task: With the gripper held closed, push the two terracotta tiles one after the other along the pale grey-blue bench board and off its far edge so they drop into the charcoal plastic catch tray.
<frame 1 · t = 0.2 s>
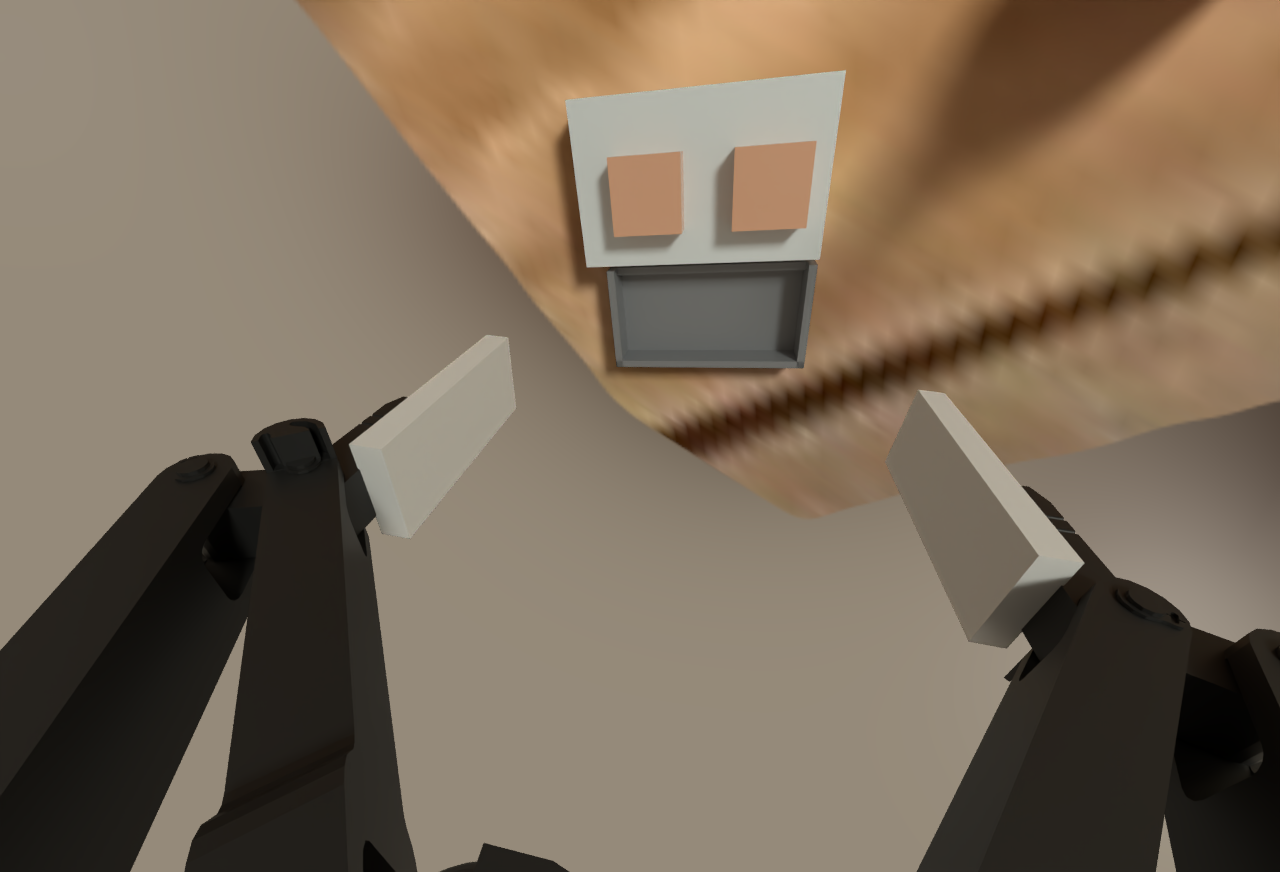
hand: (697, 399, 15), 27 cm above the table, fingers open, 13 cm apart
bench board: (700, 179, 35), on the table
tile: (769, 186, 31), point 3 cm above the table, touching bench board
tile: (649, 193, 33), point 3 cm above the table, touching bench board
catch tray: (708, 309, 40), on the table
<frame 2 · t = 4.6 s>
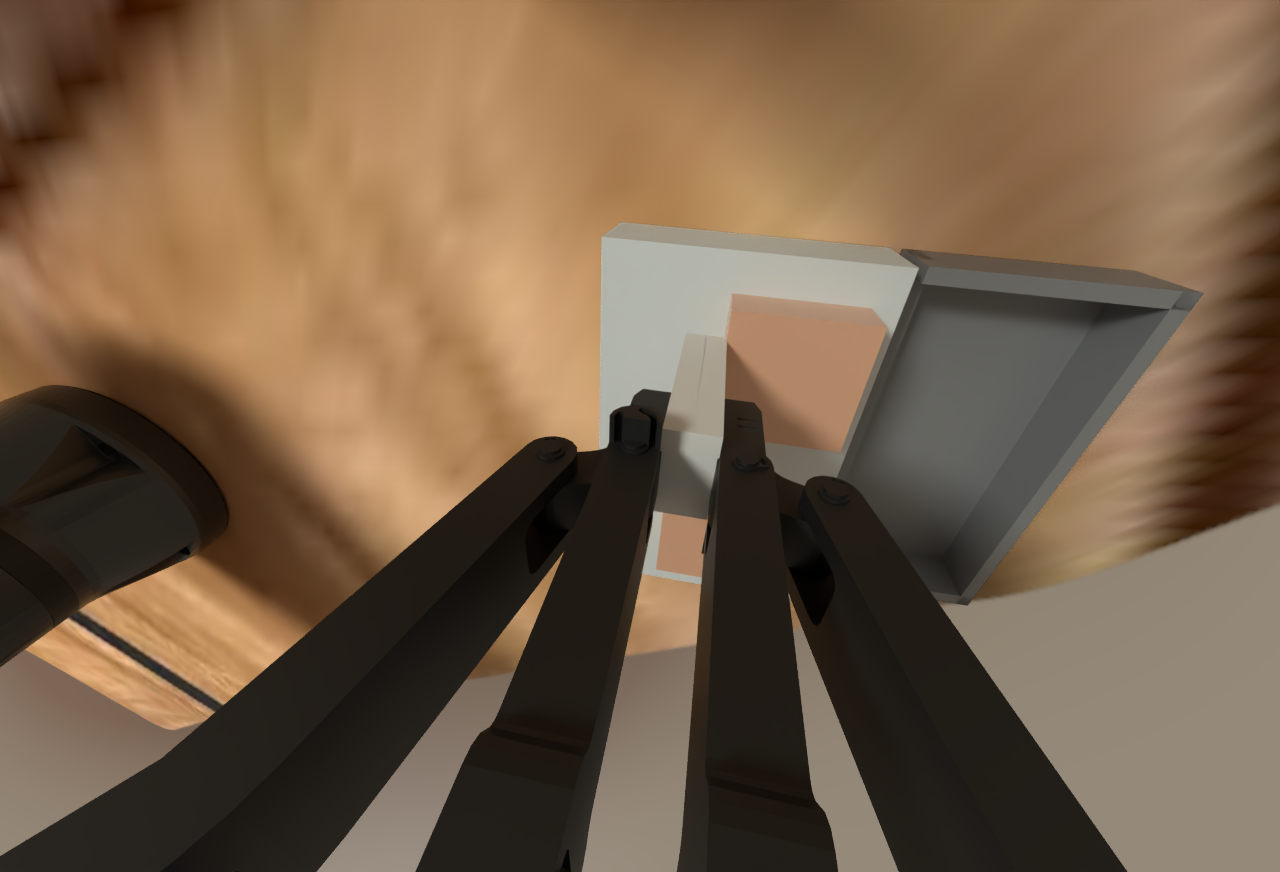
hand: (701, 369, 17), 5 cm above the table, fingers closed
bench board: (717, 418, 24), on the table
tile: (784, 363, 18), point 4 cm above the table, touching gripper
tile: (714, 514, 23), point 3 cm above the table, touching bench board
catch tray: (927, 434, 22), on the table
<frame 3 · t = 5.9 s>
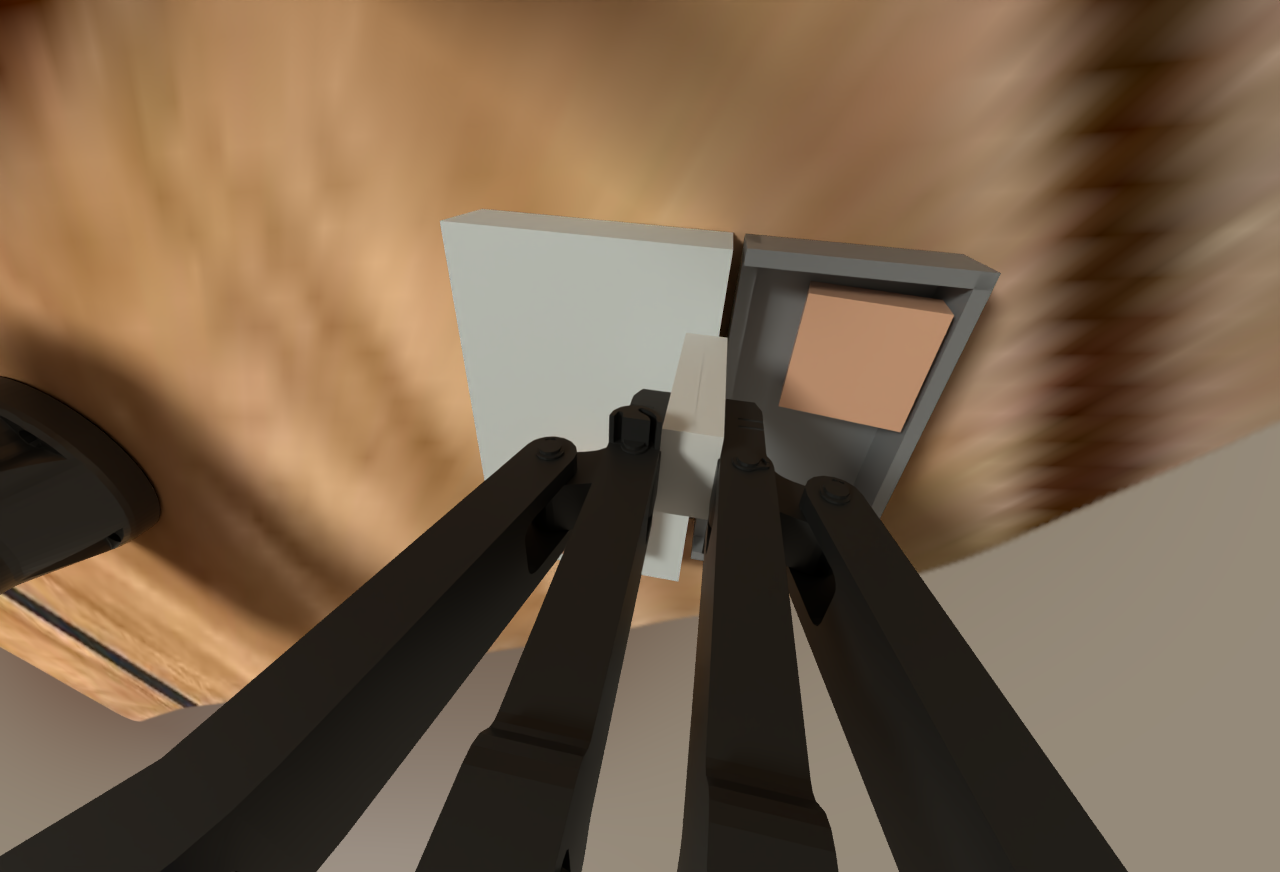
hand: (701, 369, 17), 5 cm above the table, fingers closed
bench board: (601, 402, 24), on the table
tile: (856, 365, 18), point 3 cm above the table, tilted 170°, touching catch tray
catch tray: (799, 417, 23), on the table
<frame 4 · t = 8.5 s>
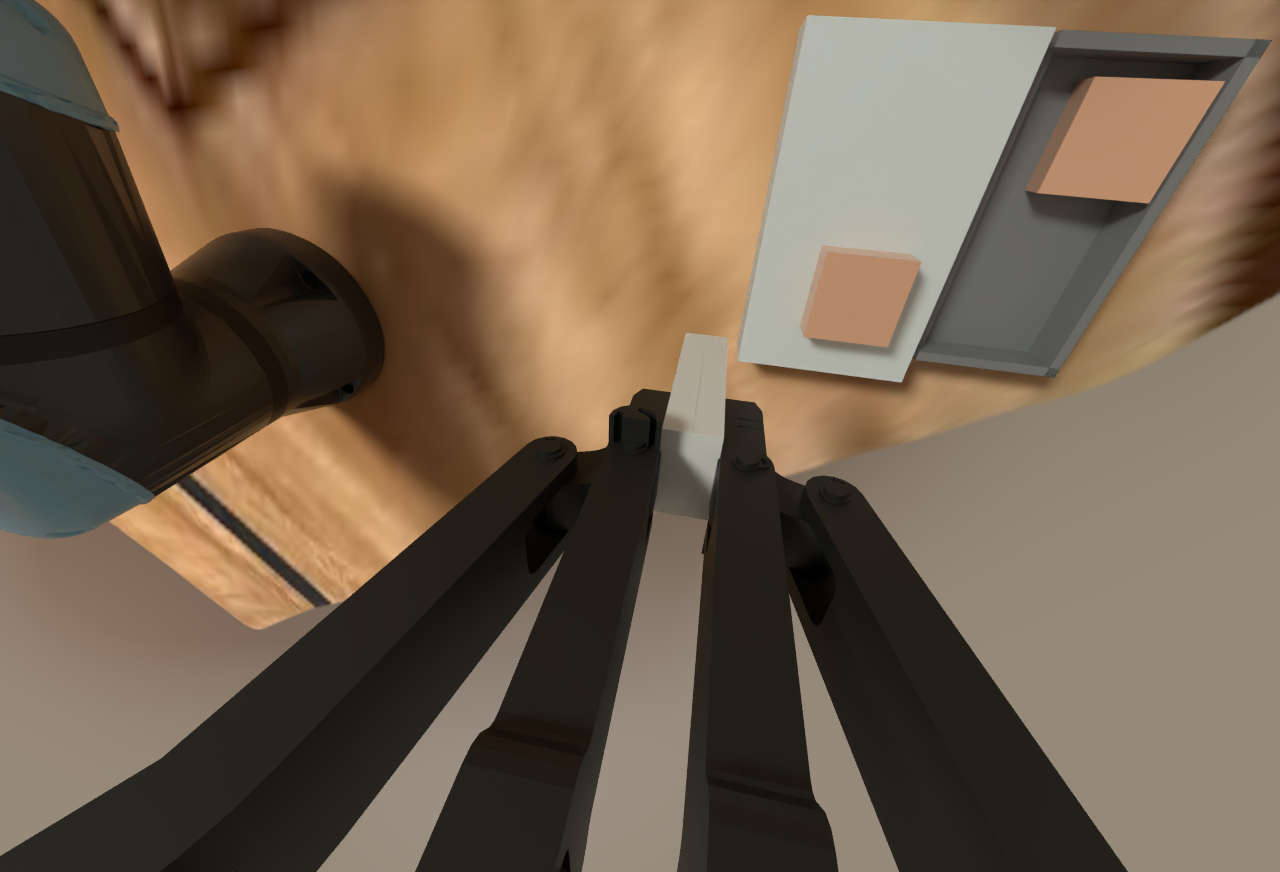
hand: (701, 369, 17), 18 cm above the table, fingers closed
bench board: (849, 221, 29), on the table
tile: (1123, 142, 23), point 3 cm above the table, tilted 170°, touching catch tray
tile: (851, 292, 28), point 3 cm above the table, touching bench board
catch tray: (1028, 224, 27), on the table
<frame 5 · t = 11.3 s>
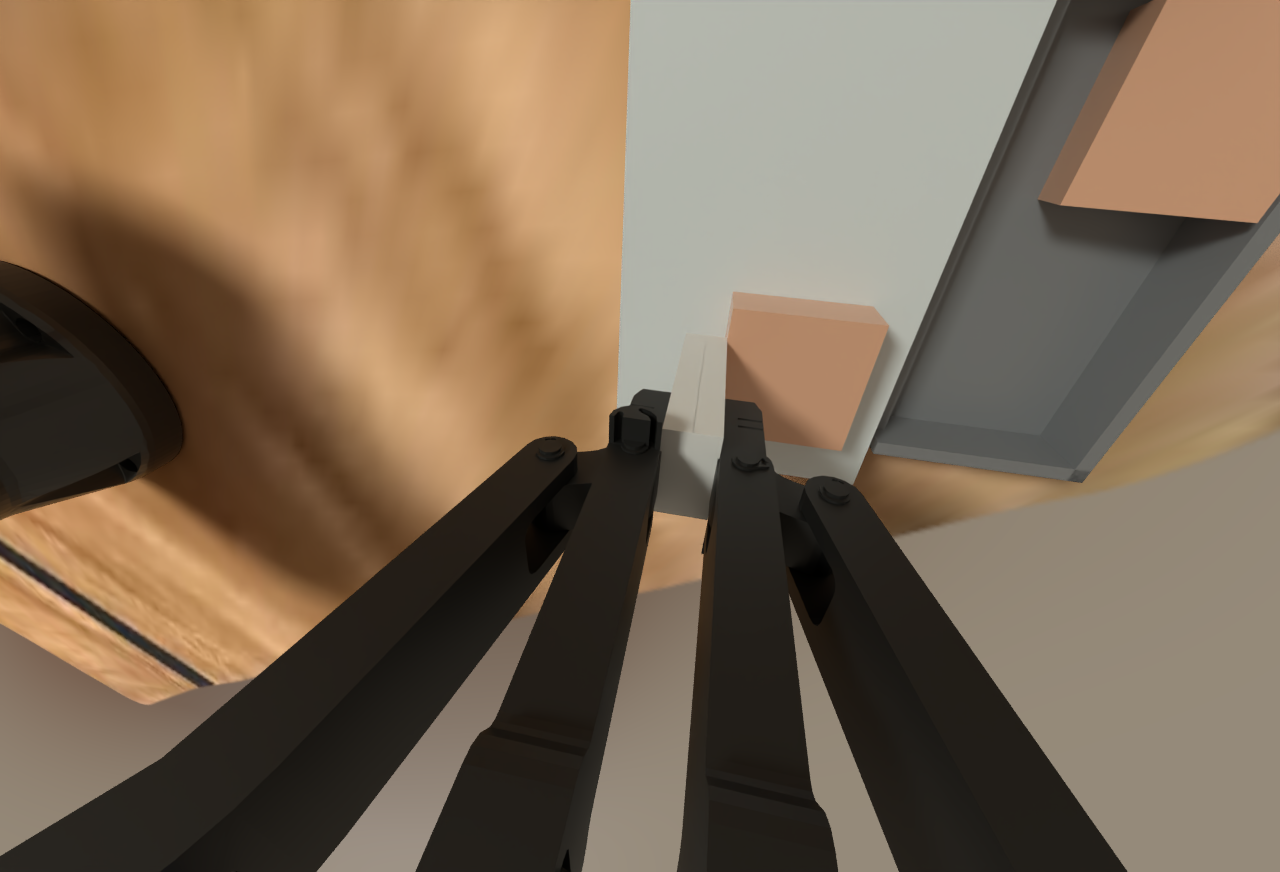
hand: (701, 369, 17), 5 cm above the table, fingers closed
bench board: (767, 247, 19), on the table
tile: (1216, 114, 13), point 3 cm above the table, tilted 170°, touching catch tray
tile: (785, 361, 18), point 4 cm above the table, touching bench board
catch tray: (1042, 252, 17), on the table
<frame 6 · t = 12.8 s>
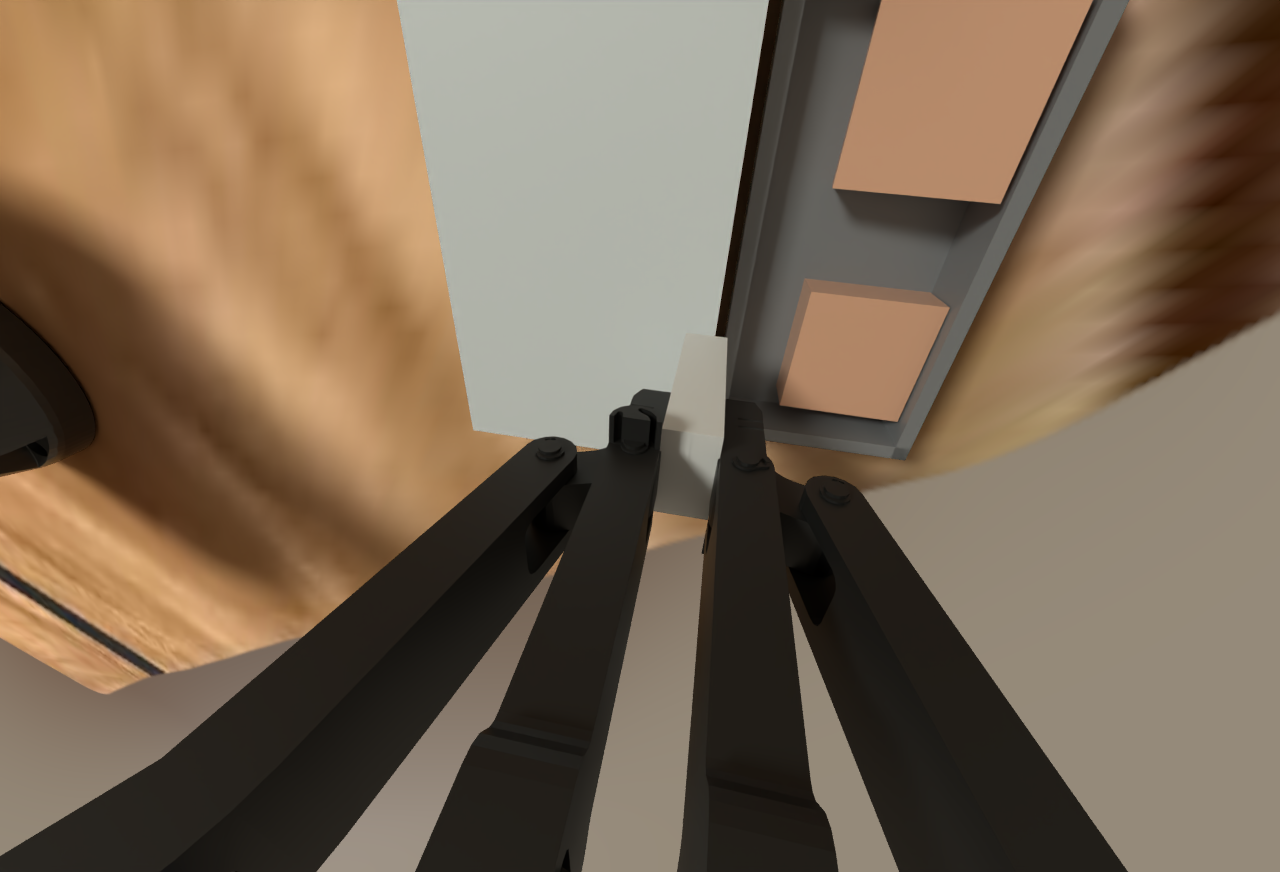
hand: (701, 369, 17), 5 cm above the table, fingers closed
bench board: (600, 232, 20), on the table
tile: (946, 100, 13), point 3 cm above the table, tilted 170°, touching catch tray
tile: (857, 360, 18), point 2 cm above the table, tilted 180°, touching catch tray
catch tray: (850, 236, 18), on the table
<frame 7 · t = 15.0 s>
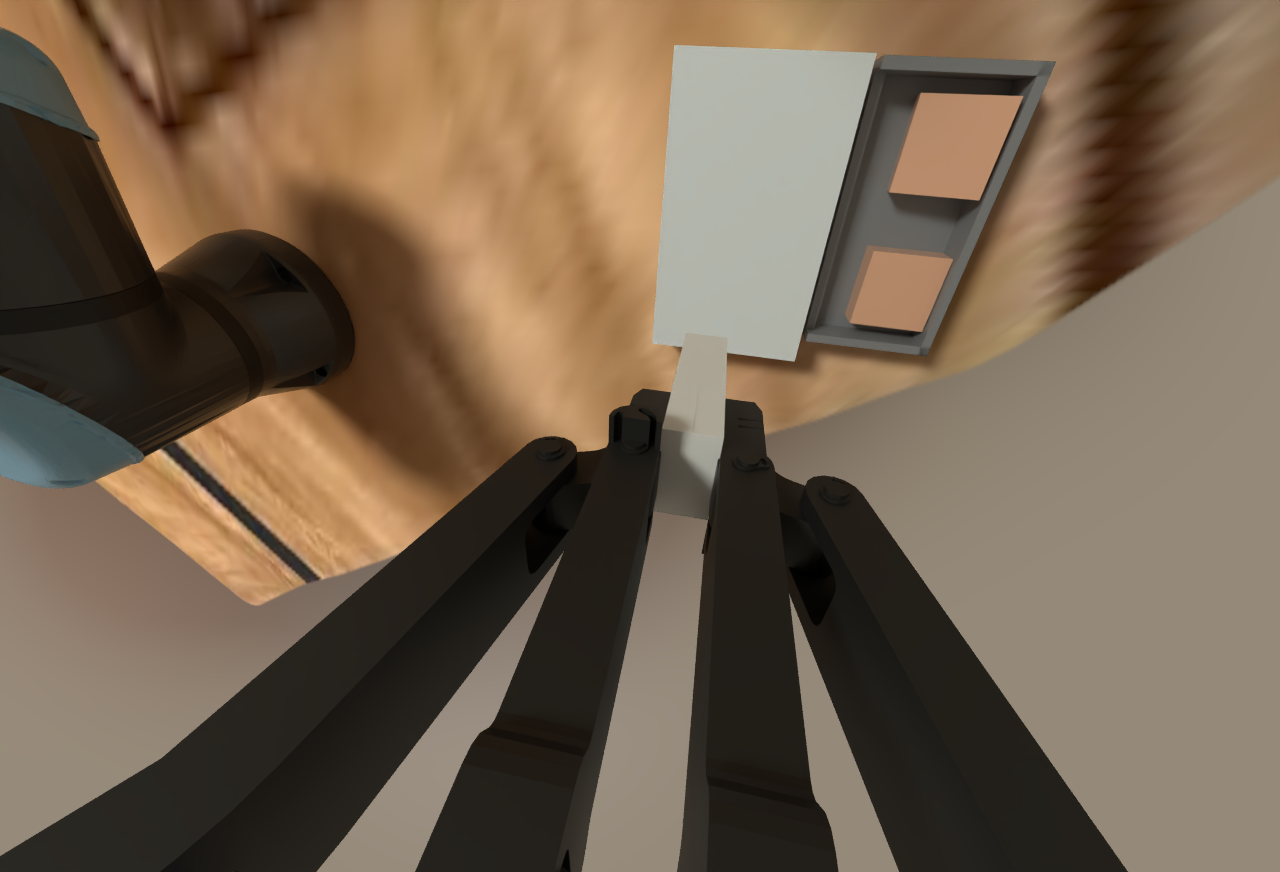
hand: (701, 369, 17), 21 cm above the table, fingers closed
bench board: (743, 218, 33), on the table
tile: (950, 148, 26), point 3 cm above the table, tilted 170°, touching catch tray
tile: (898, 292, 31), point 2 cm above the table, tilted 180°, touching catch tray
catch tray: (895, 219, 31), on the table
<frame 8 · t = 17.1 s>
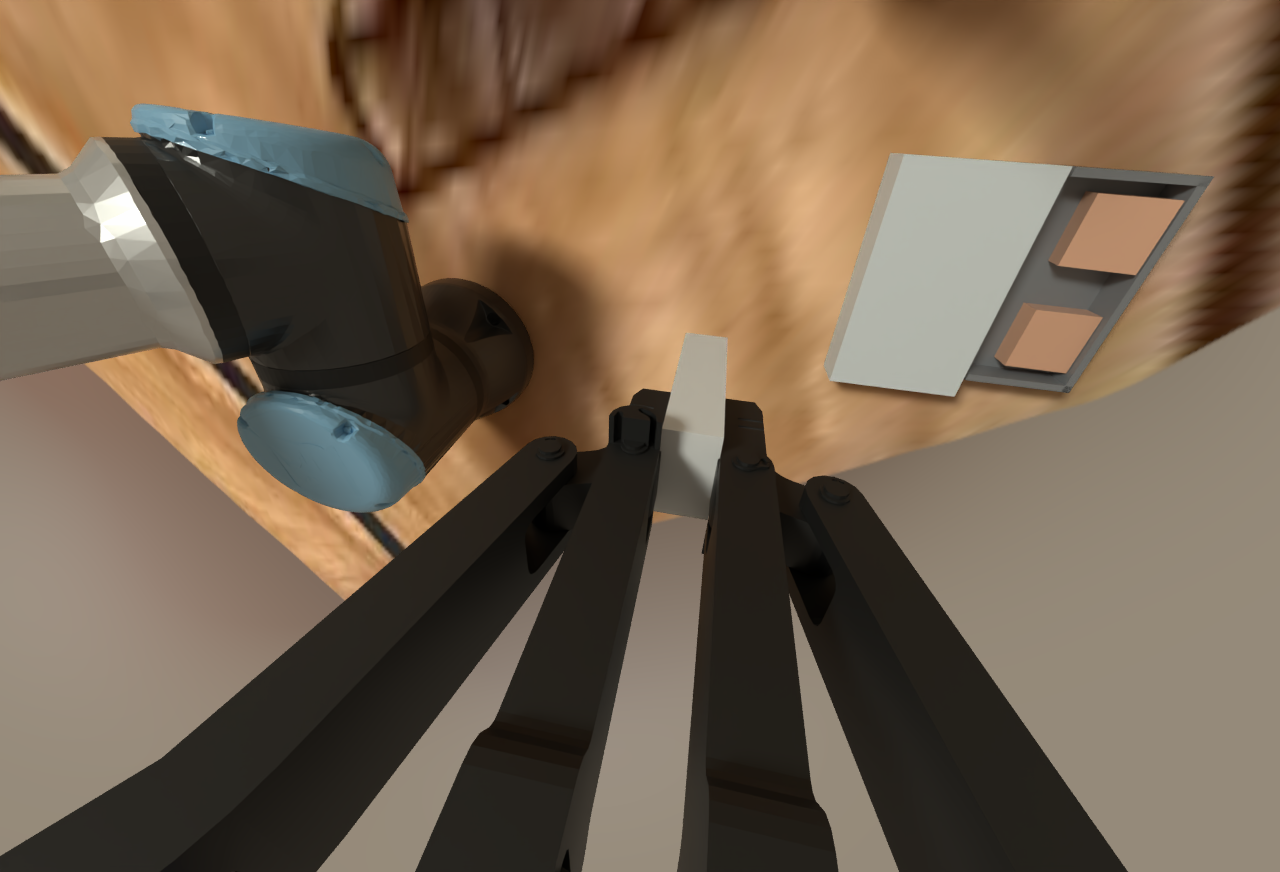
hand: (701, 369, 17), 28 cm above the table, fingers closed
bench board: (917, 279, 39), on the table
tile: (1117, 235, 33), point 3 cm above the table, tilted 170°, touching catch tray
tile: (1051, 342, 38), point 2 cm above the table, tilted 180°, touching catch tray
catch tray: (1050, 282, 38), on the table
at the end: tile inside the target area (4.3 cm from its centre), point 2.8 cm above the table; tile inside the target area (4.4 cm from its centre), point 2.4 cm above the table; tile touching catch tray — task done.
